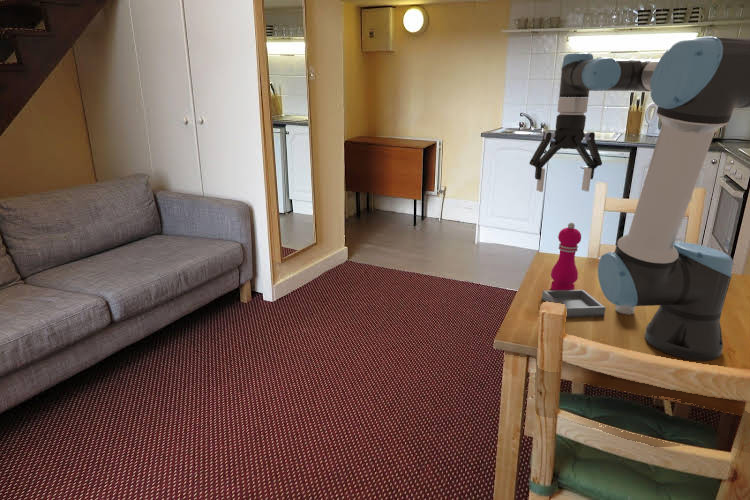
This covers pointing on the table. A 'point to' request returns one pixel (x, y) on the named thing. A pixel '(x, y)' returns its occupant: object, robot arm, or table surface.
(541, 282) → the table surface
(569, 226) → the pepper mill
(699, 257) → the robot arm
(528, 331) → the table surface
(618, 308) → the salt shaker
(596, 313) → the tray
